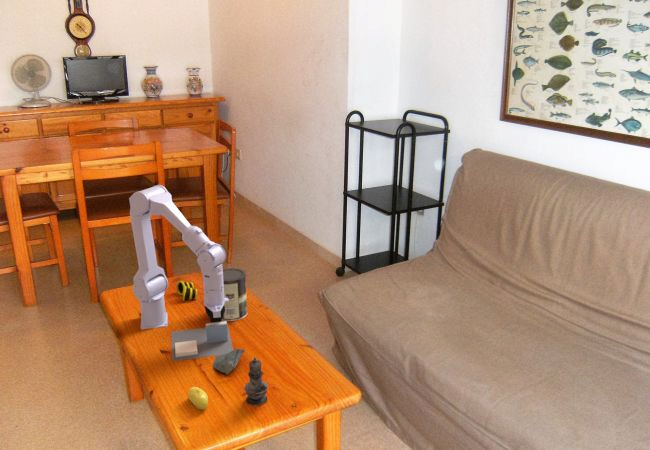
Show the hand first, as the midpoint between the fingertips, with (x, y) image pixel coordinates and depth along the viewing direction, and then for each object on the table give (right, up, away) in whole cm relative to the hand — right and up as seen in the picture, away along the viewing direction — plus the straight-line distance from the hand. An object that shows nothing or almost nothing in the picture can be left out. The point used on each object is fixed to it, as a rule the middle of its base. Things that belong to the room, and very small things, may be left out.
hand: (216, 328), depth 176 cm
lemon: (+1, -14, -28) cm, 31 cm away
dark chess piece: (+15, -13, -27) cm, 33 cm away
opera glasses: (-15, +6, +30) cm, 34 cm away
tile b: (0, -3, 0) cm, 3 cm away
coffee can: (+2, +2, +17) cm, 17 cm away
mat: (-4, -4, -1) cm, 6 cm away
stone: (+5, -8, -12) cm, 16 cm away
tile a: (-8, -4, -4) cm, 10 cm away
